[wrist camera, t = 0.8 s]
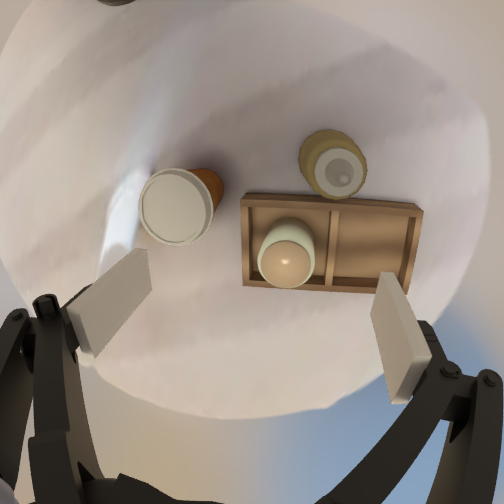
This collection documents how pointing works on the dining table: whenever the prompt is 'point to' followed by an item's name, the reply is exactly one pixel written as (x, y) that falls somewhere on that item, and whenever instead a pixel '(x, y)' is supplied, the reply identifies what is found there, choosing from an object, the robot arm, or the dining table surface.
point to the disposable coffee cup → (179, 204)
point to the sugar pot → (287, 253)
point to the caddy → (337, 239)
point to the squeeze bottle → (332, 164)
